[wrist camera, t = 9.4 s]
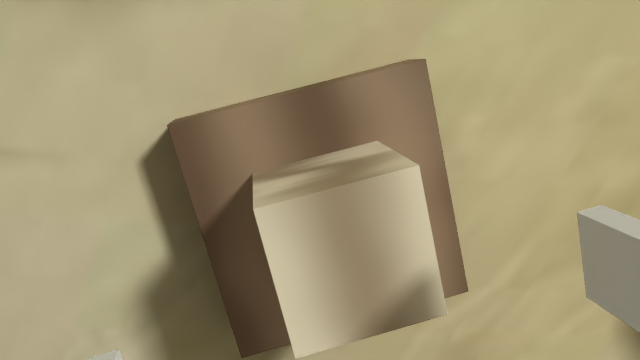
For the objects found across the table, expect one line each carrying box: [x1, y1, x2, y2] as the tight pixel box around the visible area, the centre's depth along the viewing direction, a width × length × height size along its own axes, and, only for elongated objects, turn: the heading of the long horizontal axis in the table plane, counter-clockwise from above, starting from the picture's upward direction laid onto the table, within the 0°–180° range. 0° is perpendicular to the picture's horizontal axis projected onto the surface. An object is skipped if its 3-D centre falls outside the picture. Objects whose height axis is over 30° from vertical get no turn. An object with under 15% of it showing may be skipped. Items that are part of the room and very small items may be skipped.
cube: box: [253, 141, 447, 359], centre depth 21 cm, size 6×6×6 cm
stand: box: [167, 59, 468, 358], centre depth 25 cm, size 12×12×2 cm
